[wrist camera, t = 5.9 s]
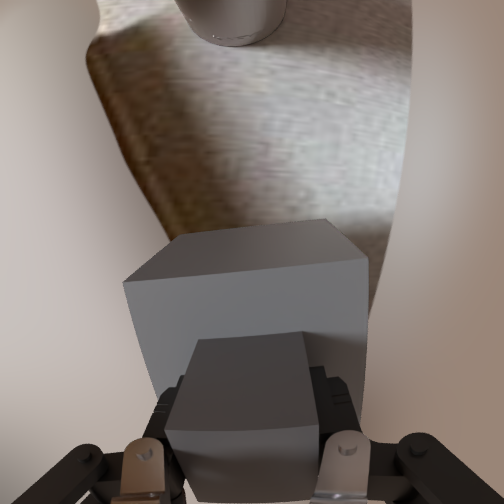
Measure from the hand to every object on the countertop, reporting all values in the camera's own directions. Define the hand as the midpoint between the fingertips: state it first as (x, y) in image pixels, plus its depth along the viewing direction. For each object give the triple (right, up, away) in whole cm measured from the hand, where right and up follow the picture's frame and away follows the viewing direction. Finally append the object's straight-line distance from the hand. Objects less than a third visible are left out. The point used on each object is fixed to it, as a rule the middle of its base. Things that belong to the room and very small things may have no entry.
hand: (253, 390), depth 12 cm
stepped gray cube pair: (0, +2, +9) cm, 10 cm away
